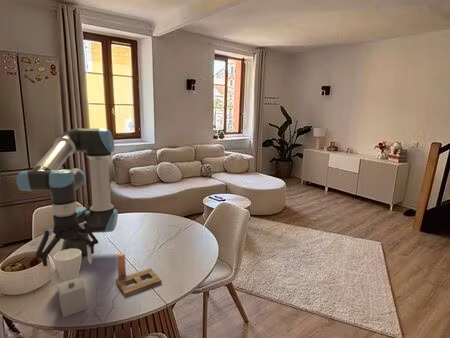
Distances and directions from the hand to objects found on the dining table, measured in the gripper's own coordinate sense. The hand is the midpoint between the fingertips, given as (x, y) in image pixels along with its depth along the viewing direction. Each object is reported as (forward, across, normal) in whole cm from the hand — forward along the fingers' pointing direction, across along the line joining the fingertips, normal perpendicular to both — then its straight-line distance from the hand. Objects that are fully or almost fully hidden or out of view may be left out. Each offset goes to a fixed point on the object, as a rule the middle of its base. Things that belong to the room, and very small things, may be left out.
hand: (70, 267), depth 108 cm
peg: (+17, +22, +11) cm, 30 cm away
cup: (+17, +2, +18) cm, 25 cm away
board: (+17, +26, +1) cm, 31 cm away
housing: (+17, 0, 0) cm, 17 cm away
